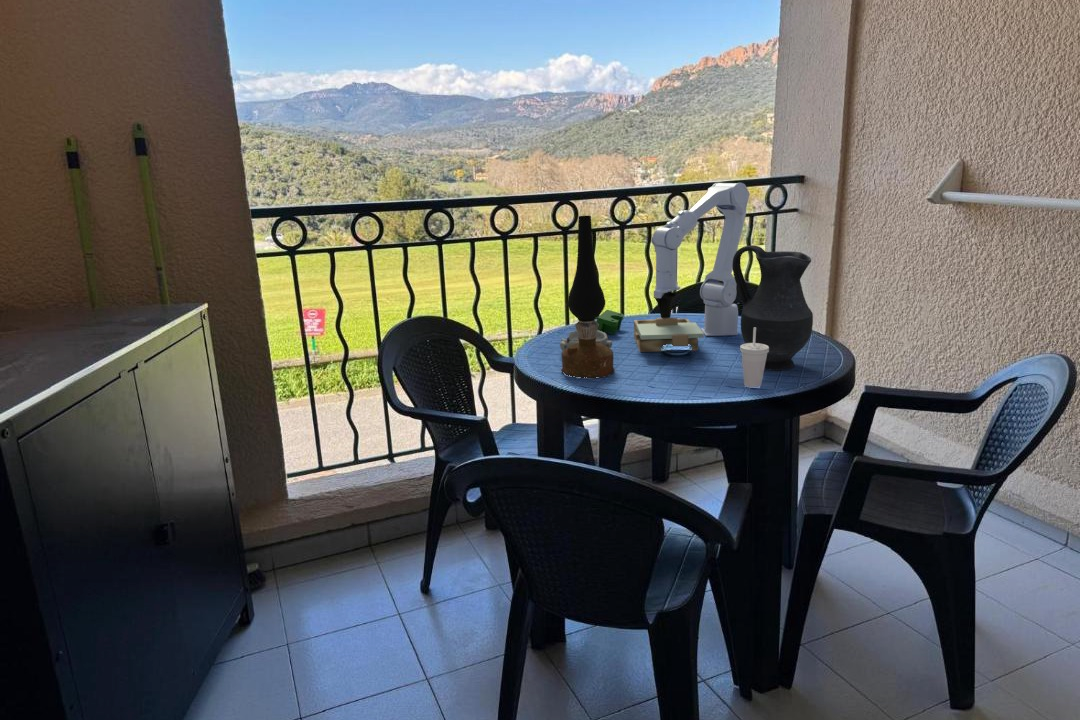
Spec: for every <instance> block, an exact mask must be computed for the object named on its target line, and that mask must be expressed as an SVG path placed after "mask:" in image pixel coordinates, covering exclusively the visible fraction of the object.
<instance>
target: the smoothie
mask: <svg viewBox="0 0 1080 720" xmlns="http://www.w3.org/2000/svg"><path fill="white" fill-rule="evenodd" d="M755 339H756V327H754V329H753V343H746V344H745V343H743V344H740V346H739V347H740V349H739V351H740V352H741V360H742V361H741V362H742V363H741V364H742V373H743V384H744V385H745V386H748V387H759V386H761V387H762V382H763V378H764V371H765V369H764V368H765V362H766V357H767V353H768V352H769V346H767V345H765V344H760V343H755ZM744 385H743V386H744ZM745 386H744V387H745Z"/></svg>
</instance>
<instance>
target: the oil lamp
mask: <svg viewBox="0 0 1080 720" xmlns="http://www.w3.org/2000/svg"><path fill="white" fill-rule="evenodd" d="M577 224H578V226H577V227H578V228H577V229H578V230H577V234H578V235H577V257H576V259H577V260H576V268H575V269H576V270H575V273H574V278H573V282H572V286H571V287H570V291H569V293H568V300H567V307H568V309H569V312H570V313H571V314H572V315H573V317H576V318H577V320H578V321H577V322H576V323H575V324H574V327H575V329H576V330H577V332H578V334H579V337H578V339H579V340H570V339H569V337H568V336H567V338H566V340H567V343H569V341H579V343H576V344H574V345H572V346H570V347H568V348H567V349H565V350H564V351H563V352H561V363H562V364H561V365H562V368H561V369H560V371H562V372H561V373H563V372H564V373H565V374H566V375H568V376H569V375H570V376H572V377H573V376H575V377H581V378H584V377H585V378H586V377H587V378H596V377H603V378H605V377H604V376H607V377H609V376H611V375H612V374H614V372H615V367H614V351H613V350H612V349H611V348H608V347H606V346H604V345H602V344H600V342H598V343H596V336H595V334H596V332H597V329H598V326H599V324H598V323H597V322H596V321H597V317H599V316H600V315H601V314H602V313H603V312H604V310H605V306H606V299H605V295H604V291H603V288H602V286H601V283H600V282H599V278H598V274H597V272H596V267H595V258H594V247H593V246H594V243H593V229H592V216H591V215H579V216H578V223H577ZM608 375H609V376H608Z"/></svg>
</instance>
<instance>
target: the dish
mask: <svg viewBox="0 0 1080 720" xmlns="http://www.w3.org/2000/svg"><path fill="white" fill-rule="evenodd" d="M595 336H596V343H598V342H600V344H602V345H604V346H606V347H608V348H610V349H611V348H612V346H613V341H612V340H609V338H608V335H607V333H606V332H602V331H598V330H597V332H596V334H595ZM567 337H569V339H570V340H579V339H578V337H579V334H578V332H577V329H576V330H571V331H569V332H568V335H567ZM560 339H561V340H560V342H559V347H560V349H561V351H562V352H563V351H564V350H565V349H567V348H568V347H570V346H572V345H574V344H576V343H579V341H569V343H567V338H564V337H561V338H560ZM562 352H561V353H562Z"/></svg>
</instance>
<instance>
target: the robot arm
mask: <svg viewBox="0 0 1080 720" xmlns="http://www.w3.org/2000/svg"><path fill="white" fill-rule="evenodd" d="M750 194H751V193H750V191H749V189H748V188H747V186H746V184H745V183H744V182H737V183H736V182H734V183H733V182H715V183H713V184H712V186H710V187H708V188H707V193H705V194H704V195H703V197H701V198H700V200H699V201H697V202H696V203H695V204H694V205H693V206H692V207H691V208H690V209H689V210H688V209H686V210H685V209H684V210H679V211H678V212H677V215H676V216H675V217H674V218H672V219H671V220H670V221H667V222H666V224H665V225H664V226H660V227H658V228H656V230H655V231H654V232H653V234H652V237H651V243H652V245H653V247H654V252H655V286H654V290H653V299H655V301H656V304H657V306H658V310H659V314H660V318H671V315H672V311H673V306H674V303H675V301H676V299H677V297H678V292H676V291H679V290H681V286H679V284H678V281H677V280H678V279H677V275H678V274H677V273H678V271H677V269H678V268H677V267H678V265H677V263H678V262H677V261H678V260H677V259H678V248H680V246H681V244H682V243H683V242H682V241H683V239H684V238H685V236H686V235H688V234H689V233H691V231H693V230H694V229H695V228H696V227H697V226H698V220H699V219H701V218H702V217H703V216H705V214H707V213H709V212H711V210H712V209H714V208H715V207H716V208H717V209H718V210H719V211H720V212H721V213H722V214H723V216H724V218H725V219H724V223H723V227H722V230H721V231H722V232H721V236H720V239H719V244H718V249H717V253H716V256H715V260H714V266H713V268H712V270H711V271H709V272H708V273H707V274H705V277H704V281H703V282H702V284H701V286H700V289H699V297H700V298H701V299H702V300H703V304H705V305H704V327H701V328H700V329H701V331H702V332H703V333H704V337H717V336H718V337H721V336H723V337H724V336H738V335H739V334H738V327H739V326H738V325H739V321H738V320H739V308H738V307H739V306H738V304H737V303H734V302H735V300H736V298H737V293H738V292H737V284H736V281H735V278H734V274H732V273H733V268H732V264H733V258H734V255H735V253H736V252H737V251H738V250H739V245H740V240H741V236H742V233H743V230H744V229H743V228H744V224H745V221H746V216H747V207H748V203H749V199H750ZM674 291H675V292H674Z"/></svg>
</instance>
